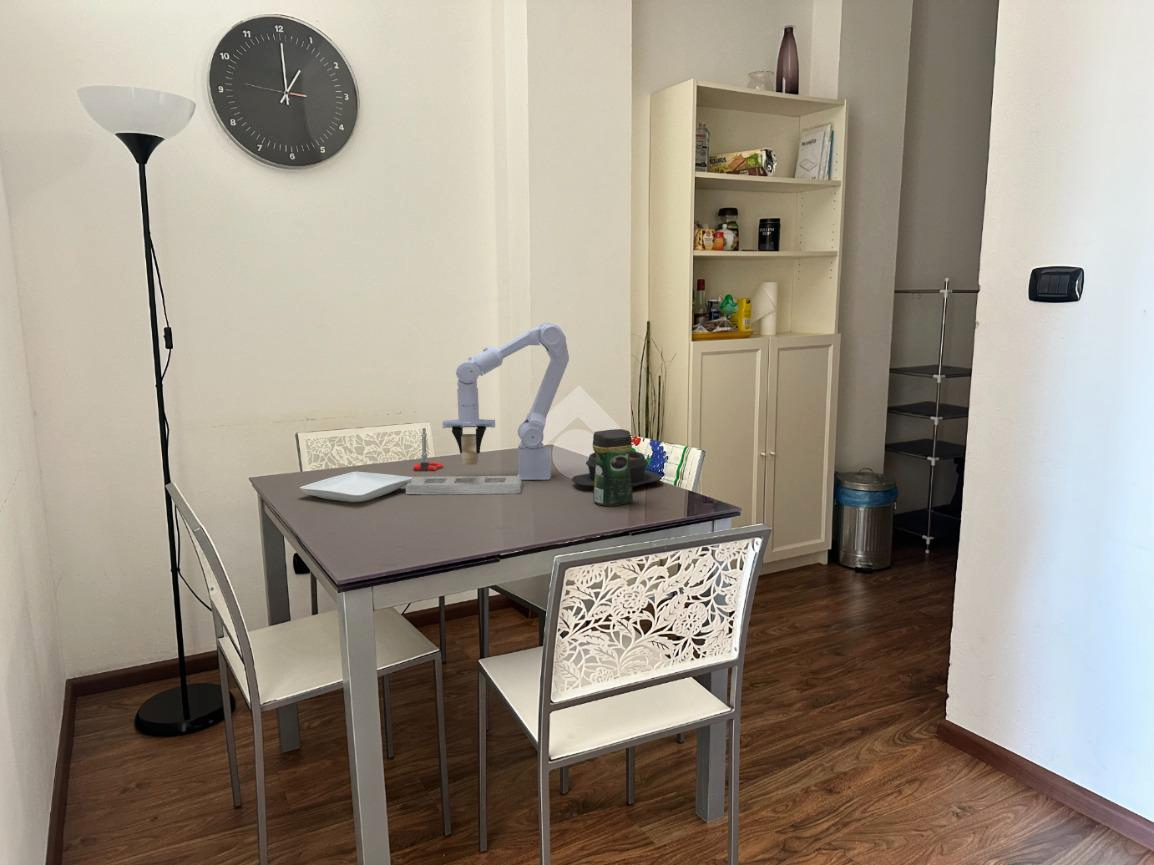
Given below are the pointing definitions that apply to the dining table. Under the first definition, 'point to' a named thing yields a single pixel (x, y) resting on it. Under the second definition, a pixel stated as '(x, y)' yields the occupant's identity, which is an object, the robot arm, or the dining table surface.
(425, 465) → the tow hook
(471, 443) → the peg
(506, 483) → the grey slotted board
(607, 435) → the coffee jar
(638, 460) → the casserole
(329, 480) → the salad plate
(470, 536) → the dining table surface
